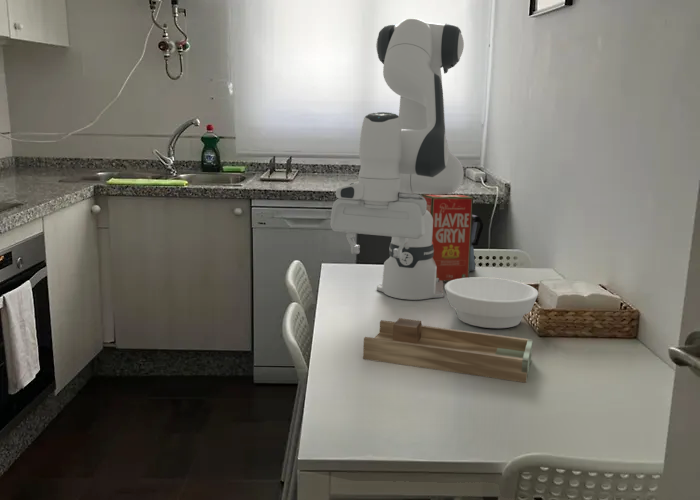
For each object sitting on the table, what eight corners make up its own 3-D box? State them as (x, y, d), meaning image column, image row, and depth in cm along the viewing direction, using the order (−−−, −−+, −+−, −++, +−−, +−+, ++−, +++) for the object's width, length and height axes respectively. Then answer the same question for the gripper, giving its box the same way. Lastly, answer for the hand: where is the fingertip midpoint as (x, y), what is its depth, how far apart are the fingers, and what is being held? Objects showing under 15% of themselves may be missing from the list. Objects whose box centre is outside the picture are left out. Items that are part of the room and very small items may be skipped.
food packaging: (428, 282, 205) (431, 196, 202) (417, 276, 214) (420, 194, 211) (470, 281, 209) (474, 196, 205) (458, 275, 218) (461, 194, 214)
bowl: (423, 317, 175) (425, 285, 173) (482, 302, 189) (484, 272, 188) (496, 343, 158) (498, 307, 157) (554, 324, 173) (557, 291, 171)
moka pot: (454, 263, 234) (457, 203, 229) (491, 272, 222) (495, 209, 218) (434, 266, 228) (437, 205, 223) (471, 276, 216) (475, 212, 212)
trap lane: (380, 339, 158) (381, 320, 157) (531, 359, 148) (532, 339, 147) (363, 358, 146) (363, 338, 145) (525, 382, 136) (527, 360, 135)
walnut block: (398, 335, 155) (399, 318, 154) (420, 338, 154) (421, 320, 153) (392, 342, 151) (393, 324, 150) (415, 345, 149) (416, 327, 148)
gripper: (430, 193, 148) (426, 257, 151) (338, 186, 154) (336, 248, 157) (423, 195, 142) (420, 262, 145) (328, 189, 148) (326, 253, 151)
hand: (376, 255), depth 151 cm, fingers open, 8 cm apart
